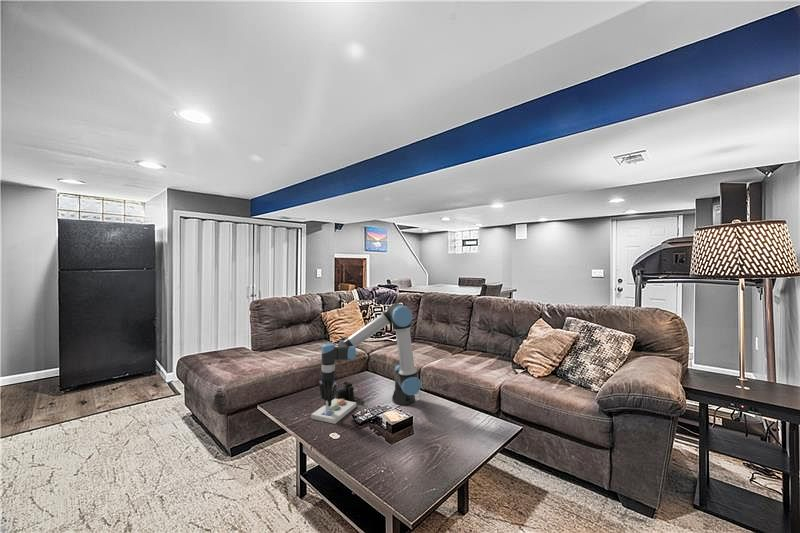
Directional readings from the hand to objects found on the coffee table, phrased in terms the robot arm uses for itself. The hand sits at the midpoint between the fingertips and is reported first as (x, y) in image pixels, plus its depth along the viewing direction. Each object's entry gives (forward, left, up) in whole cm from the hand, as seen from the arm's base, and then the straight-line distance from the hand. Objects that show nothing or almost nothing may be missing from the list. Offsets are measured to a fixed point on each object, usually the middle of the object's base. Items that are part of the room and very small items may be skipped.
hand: (327, 411), depth 194 cm
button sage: (0, -7, -2) cm, 7 cm away
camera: (+5, -26, -4) cm, 27 cm away
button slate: (0, 0, -3) cm, 3 cm away
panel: (0, -7, -4) cm, 8 cm away
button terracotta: (0, -14, -2) cm, 14 cm away
